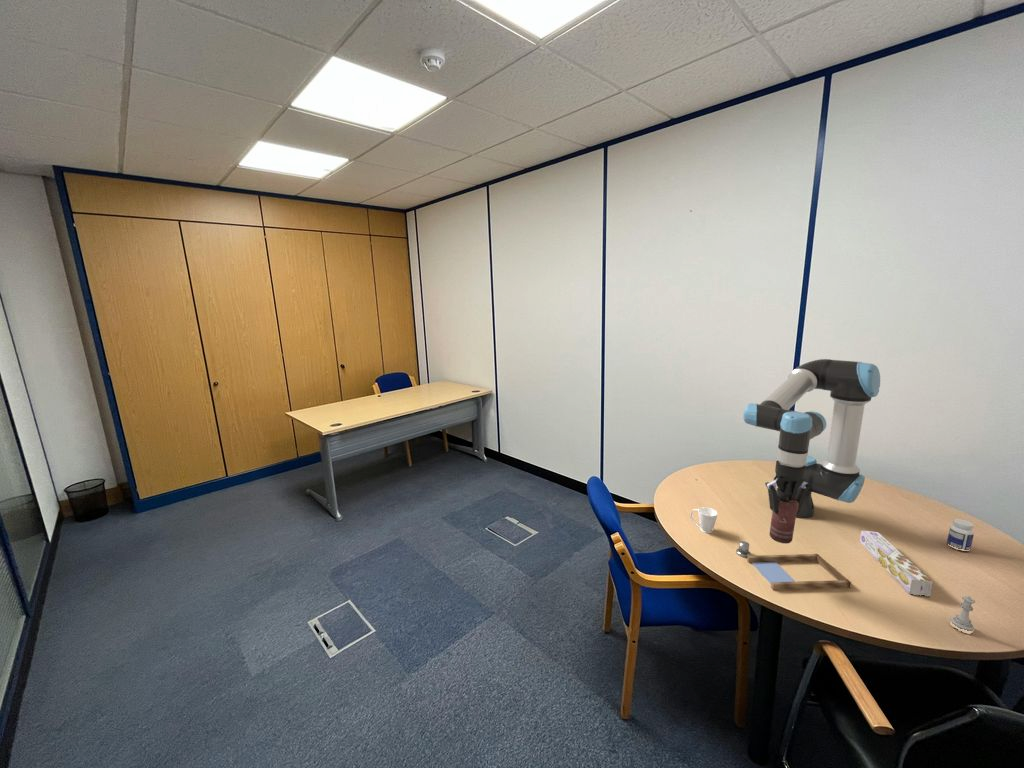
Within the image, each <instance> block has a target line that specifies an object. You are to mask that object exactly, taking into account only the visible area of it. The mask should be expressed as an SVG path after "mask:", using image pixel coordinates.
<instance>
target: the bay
mask: <svg viewBox="0 0 1024 768" xmlns="http://www.w3.org/2000/svg"><path fill="white" fill-rule="evenodd" d="M746 561H747V563H749V564H750V563H751V564H752V563H754V562H777V563H788V562H789V563H791V562H795V563H796V562H797V563H798V562H817V564H819V565H820V566H821V567H822V568H823V569H824V570H826V571H827V572H828V573H829V574H830V575H831V576H832V577H833V578H835V579H836V580H806V581H803V580H801V581H795V582H772V583H771V584H770V588H771V590H772V591H782V590H783V591H786V590H787V591H788V590H790V591H792V590H821V589H822V590H823V589H825V590H826V589H828V590H829V589H830V590H831V589H850V588H851V585H852V581H850V580H849V579H848V578H846V576H845V575H843V574H842V573H841V572H840V571H838V570H837V569H836V568H835V567H833V565H831V564H830V563H829V562H828V561H827V560H825V559H824V558H823V557H822V556H821V555H820V554H818V553H803V554H801V553H800V554H799V553H797V554H773V555H771V554H770V555H769V554H768V555H765V554H763V555H762V554H761V555H751V556H748V557H747V558H746Z"/></svg>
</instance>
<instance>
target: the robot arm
mask: <svg viewBox="0 0 1024 768" xmlns="http://www.w3.org/2000/svg"><path fill="white" fill-rule="evenodd" d="M880 387H881V374H880V370H879V368H878V366H877V365H875V364H874V363H869V362H863V361H855V360H854V361H853V360H843V359H842V360H840V359H839V360H838V359H828V358H821V359H820V358H819V359H815V360H811V361H809V362H806V363H803V364H800V365H799V366H797V367H795V368H794V369H793V370H791V371H790V372H789V374H788V375H787V379H786V380H784V382H783V383H782V384H780V386H778V387H777V388H776V389H775V390H774V391H773V392H772V393H771V394H769V396H767V397H766V398H765V399H764V400H763V401H762V402H760V404H759V403H753V402H752V403H748V404H747V405H746V406H745V408H744V410H743V417H742V418H743V421H744V423H746V424H747V425H750V426H754V427H756V428H757V427H758V428H761V429H766V430H772V431H776V432H779V438H778V444H777V445H778V447H777V454H776V459H777V460H776V462H775V470H774V471H775V476H774V477H773V480H772V481H770V482H769V481H766V482H765V487H766V488H767V494H768V500H769V501H768V503H769V508H770V510H771V511H774V512H775V513H776V514H777V513H778V512H779V508H778V499H779V500H781V501H783V502H786V500H787V499H788V500H789V501H793V500H794V501H795V499H796V500H797V502H798V503H799V505H798V511H797V512H796V518H811V517H813V516H814V514H815V504H814V500H813V497H812V493H813V494H814V493H815V494H817V495H821V496H824V497H827V498H830V499H832V500H833V499H834V500H836V501H838V502H839V501H840V502H843V503H848V504H851V503H854V502H855V501H856V500H857V499H858V496H859V495H860V494H861V491H862V489H863V486H864V484H865V478H866V477H865V476H864V475H863V474H860V470H861V468H860V467H859V466H858V465H857V463H856V461H857V454H858V449H859V443H860V436H861V429H862V424H863V417H864V411H865V405H866V404H868V403H870V402H871V401H872V398H876V397H878V395H879V392H880ZM813 390H823V391H827V392H828V391H829V395H830V396H829V397H830V398H831V399H832V400H833V401H834V403H833V410H832V411H833V412H832V417H831V424H830V425H831V426H830V432H829V439H828V440H829V441H828V446H827V454H826V459H824V460H822V461H821V463H817V458H815V457H813V456H810V455H808V454H809V447H810V440H811V439H814V438H815V437H818V436H819V435H821V434H822V433H823V432H824V431H825V430H826V428H827V420H826V418H825V417H824V415H822V414H821V413H820V412H817V411H813V410H812V411H811V410H810V411H805V412H802V411H795V410H790V409H791V408H792V407H793V406H794V405H795V404H796V403H797V402H798V401H799V400H800V399H801V398H802V397H803V396H804V395H805V394H806V393H809V392H812V391H813ZM777 495H778V496H777ZM777 498H778V499H777Z"/></svg>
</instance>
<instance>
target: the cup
mask: <svg viewBox="0 0 1024 768" xmlns="http://www.w3.org/2000/svg"><path fill="white" fill-rule="evenodd" d="M694 511H695V512H696V513H697V512H698V521H699V524H698V523H697V522H696V521H695V520H694V517H693V516H692V515H693V512H694ZM717 517H718V511H717V510H715V509H714V508H711V507H707V506H703V507H699V508H698V509H697V508H693V509H692V510H691V511H690V513H689V518H690V520H691V521H692V522H693V524H694V525H695V526H696V527H698V528H699V529H700V531H701V532H702V533H705V534H712V533H713V530H714V527H715V525H716V521H717Z"/></svg>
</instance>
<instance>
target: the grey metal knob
mask: <svg viewBox="0 0 1024 768" xmlns="http://www.w3.org/2000/svg"><path fill="white" fill-rule="evenodd" d="M738 545H739V546H738V548H736V552H735V553H736V554H737V555H738V556H739V557H742V558H744V559H747V557H748V556H752V555H751V551H750V550H749V549H750V543H749V542H747V541H744V540H741V541H739V543H738Z"/></svg>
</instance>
